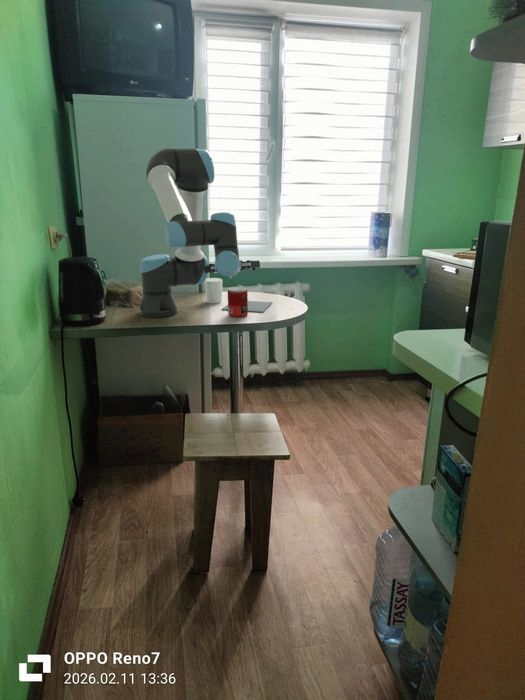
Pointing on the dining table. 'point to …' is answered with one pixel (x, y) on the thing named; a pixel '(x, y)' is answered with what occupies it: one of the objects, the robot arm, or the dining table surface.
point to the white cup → (213, 290)
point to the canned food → (237, 302)
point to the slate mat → (255, 306)
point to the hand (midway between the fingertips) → (233, 267)
